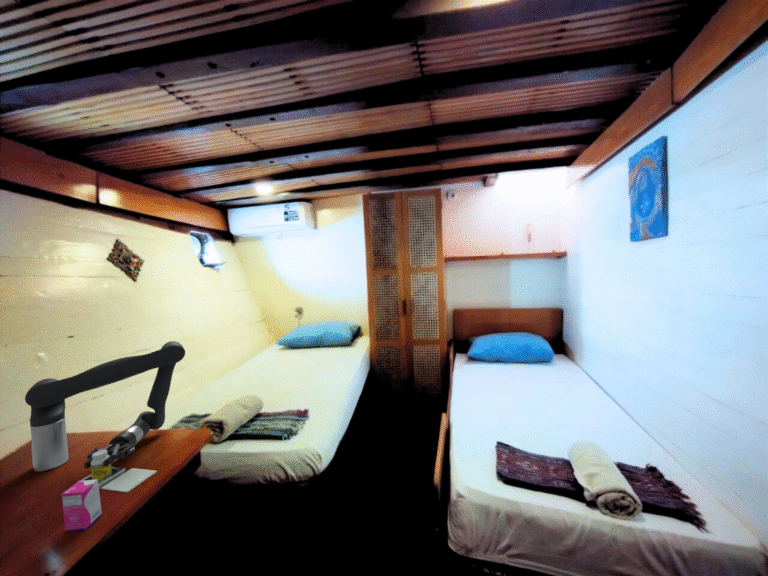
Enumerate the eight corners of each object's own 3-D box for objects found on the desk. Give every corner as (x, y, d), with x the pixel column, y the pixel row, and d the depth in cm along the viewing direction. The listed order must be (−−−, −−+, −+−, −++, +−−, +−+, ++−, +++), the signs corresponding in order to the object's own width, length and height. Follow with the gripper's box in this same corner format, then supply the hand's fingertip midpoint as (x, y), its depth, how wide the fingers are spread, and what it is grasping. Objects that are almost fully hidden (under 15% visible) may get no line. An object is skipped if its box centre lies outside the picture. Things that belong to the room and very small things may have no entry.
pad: (101, 489, 107) (101, 487, 107) (132, 469, 118) (132, 468, 118) (127, 492, 105) (127, 491, 105) (157, 471, 116) (157, 470, 116)
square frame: (78, 485, 109) (77, 481, 109) (105, 469, 118) (105, 465, 118) (98, 488, 107) (98, 484, 107) (125, 472, 116) (124, 468, 116)
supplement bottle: (113, 471, 116) (111, 446, 116) (110, 479, 112) (108, 453, 111) (93, 477, 114) (91, 451, 113) (90, 485, 109) (88, 458, 108)
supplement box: (81, 516, 95) (78, 480, 94) (102, 514, 95) (99, 478, 95) (63, 532, 89) (60, 493, 89) (86, 530, 90) (82, 491, 89)
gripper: (106, 432, 125) (70, 457, 108) (146, 428, 127) (117, 452, 111) (107, 450, 126) (72, 478, 109) (147, 446, 128) (118, 473, 111)
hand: (95, 465), depth 110 cm, fingers closed on supplement bottle, 5 cm apart
